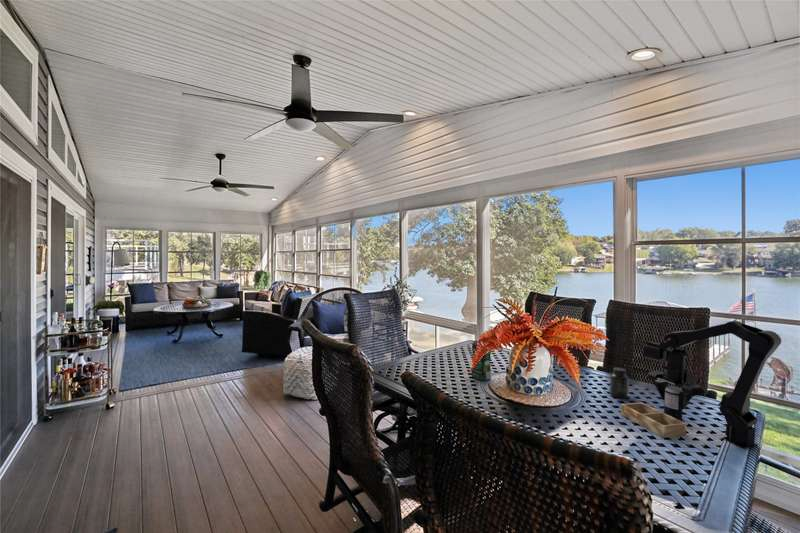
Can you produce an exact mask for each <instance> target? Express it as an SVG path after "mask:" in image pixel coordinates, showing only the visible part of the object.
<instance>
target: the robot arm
mask: <svg viewBox="0 0 800 533" xmlns="http://www.w3.org/2000/svg"><path fill="white" fill-rule="evenodd" d="M729 334H730V335H731V334H732V335H734V336H735V337H737V338H739V339H741V340H742V341H745V342H747V343H748V347H747V348H748V357H747V359H746V362H745V363H744V366H743V368H742V370H741V373H740V374H739V377H738V380H737V381H736V384H735V386H734V389H732V390H733V391H728V392H726V393H724V394H722V396H721V401H720V402H719V403H718V404H717V405H718V406H719V412H720V413H721V416H723V417H724V419H725V422H726V424H725V436H723V437H722V439H723V440H726V441H727V442H730V443H732V444H733V445H735V446H738V447H740V448H742V449H748V448H756V447H759V444H758V443H755V440H756V428H755V427H754V426H756V424H757V423H758V421H759V420H758V418H757V417H756V415H754V414H753V413H752V411H750V407H751V395H752V393H753V390H754V389H755V387H756V384H757V381H758V379H759V378H760V375H761V374H762V370H763V369H764V367H765V364H766V362H767V360H768V359H769V358H771V356H772V355H773V354H774V353H775V351H776V350H778V349H779V347H780V345H781V344H782V338H781V337H780V335H779V334H778V333H776V332H774V331H772V330H763V329H761V328H759V327H755V326H752V325H749V324H746V323H743V322H741V321H738V320H732V321H731V320H729V321H726V322H725V323H721V324H716V325H713V326H708V327H704V328H699V329H696V330H676V331H672V332H669V333H666V334H665V336H664V340H663V341H661V342H660V343H658V342H654V341H650V340H649V341H646V344H645V345H644V346H643V347H644V348H643V350H642V354H643V356H644V358H646V359H650V360H655V361H659V362H663V361H664V360H665V365H663V366H662V368H663V369H664V370H665V372H663V371H660V370H653V371H649V372H648V373H647V379H649V380H650V381H651V383H653V385H654V386H655V388H656V390H657V391H658V394H659V395H660V398H661V400H662V401H663V402H664V399H665V389H666V386H669V384H670V385H672V386H675V387H679V388H681V389H682V392H679V394H680V401H681V407H682V409H683V410H685V409H686V408H687V406H688V405H689V402H690V401H691V399H692V398H693V397H696V396H704V395H705V394H706V390H705V388H704V386H702V385H699V384H696V382H697V379H698V375H696V374H692V373H691V372H689V369H688V368H686V367H685V365H686V357H689V356H692V355H693V352H691V351H690V350H689V349H688V348H683V349H680V348H681V347H685V346H687V345H690V344H693V343H695V342H697V341H700V340H705V339H710V338H715V337H720V336H724V335H729ZM689 382H691V383H689Z"/></svg>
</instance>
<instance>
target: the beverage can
mask: <svg viewBox="0 0 800 533" xmlns="http://www.w3.org/2000/svg"><path fill="white" fill-rule="evenodd" d="M679 392H683V391H682V388H681V387H678V386H675V385H668V386H666V389H665V399H664V401H663V413H665V414H667V415H669V416H671V417H673V418H675V419H677V420H679V421H682V420H683V413H684V411H683V410H684V409H682V407H681V401H680V394H679Z"/></svg>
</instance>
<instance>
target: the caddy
mask: <svg viewBox="0 0 800 533" xmlns="http://www.w3.org/2000/svg"><path fill="white" fill-rule="evenodd" d="M621 415H622V416H623V417H625V418H627V419H629V420H630V421H632V422H634V423H636V424H637V425H638V426H641V427H643V428H645V429H646V430H649V431H650V432H652V433H654V434H655V435H658V436H659V437H662V439H665V438H671V437H673V438H674V437H680V436H681V437H682V436H687V423H685V422H683V421H682V420H680V421H679V420H677V419H675V418H673V417H671V416H669V415H667V414H665V413H664V411H663V412H662V411H661V410H658V409H657V408H654V407H653V406H650V405H648V404H646V403H644V402H642V401H641V402H630V403H629V402H628V403H621V404H620V416H621Z"/></svg>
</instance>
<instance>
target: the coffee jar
mask: <svg viewBox="0 0 800 533" xmlns="http://www.w3.org/2000/svg"><path fill="white" fill-rule="evenodd" d="M478 340H479V339H478ZM478 340H473V342H472V344H471V351H472V356H473V355H474V353H475V351H476V346H477V341H478ZM491 354H492V351H489V352H488V353H487V354H486V355H484V356H483V358H482V359H481V360H480V361H479V362H478V363H477V365H476V366H475V368H473V369H472V368H471V372H470V374H471V377H472V378H474V379H475V380H479V381H489V380H490V379H491V378H492V369H491Z"/></svg>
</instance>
